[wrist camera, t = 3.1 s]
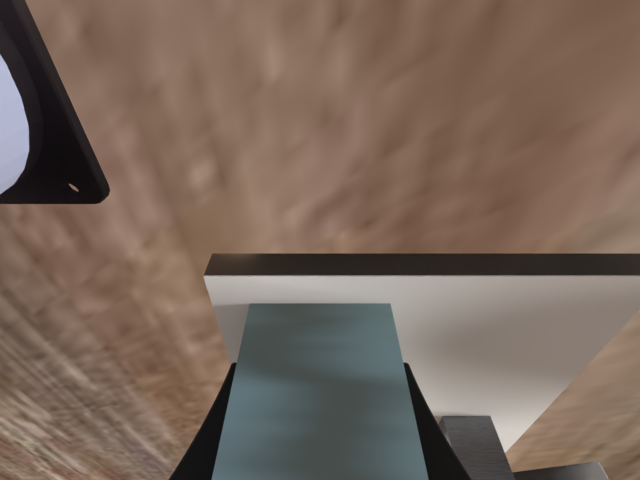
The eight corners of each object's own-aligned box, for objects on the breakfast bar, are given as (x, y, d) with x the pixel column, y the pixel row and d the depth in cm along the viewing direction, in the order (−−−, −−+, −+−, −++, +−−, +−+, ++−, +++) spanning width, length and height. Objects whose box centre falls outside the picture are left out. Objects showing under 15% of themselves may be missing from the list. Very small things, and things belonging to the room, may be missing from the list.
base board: (260, 432, 22) (258, 452, 21) (212, 253, 12) (203, 276, 11) (497, 432, 22) (505, 452, 21) (643, 253, 12) (670, 276, 11)
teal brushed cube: (264, 376, 15) (236, 578, 10) (249, 303, 12) (197, 544, 7) (375, 376, 15) (403, 578, 10) (390, 303, 12) (442, 544, 7)
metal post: (431, 431, 20) (461, 555, 16) (441, 412, 18) (478, 544, 14) (474, 431, 20) (517, 555, 16) (489, 411, 18) (540, 544, 14)
